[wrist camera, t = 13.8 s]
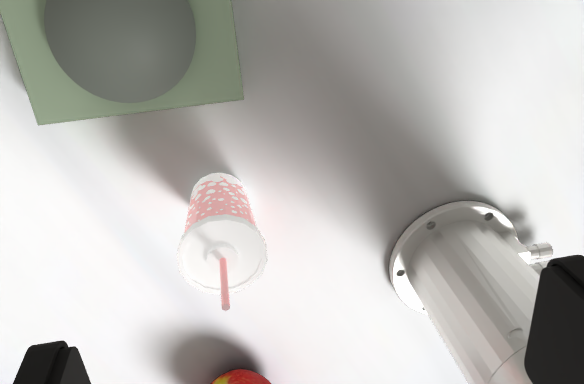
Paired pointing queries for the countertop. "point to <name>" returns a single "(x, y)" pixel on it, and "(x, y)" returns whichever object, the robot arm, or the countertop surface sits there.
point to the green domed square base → (122, 55)
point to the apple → (241, 378)
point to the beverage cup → (221, 239)
